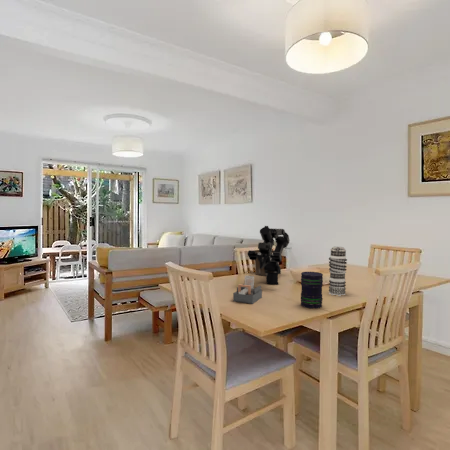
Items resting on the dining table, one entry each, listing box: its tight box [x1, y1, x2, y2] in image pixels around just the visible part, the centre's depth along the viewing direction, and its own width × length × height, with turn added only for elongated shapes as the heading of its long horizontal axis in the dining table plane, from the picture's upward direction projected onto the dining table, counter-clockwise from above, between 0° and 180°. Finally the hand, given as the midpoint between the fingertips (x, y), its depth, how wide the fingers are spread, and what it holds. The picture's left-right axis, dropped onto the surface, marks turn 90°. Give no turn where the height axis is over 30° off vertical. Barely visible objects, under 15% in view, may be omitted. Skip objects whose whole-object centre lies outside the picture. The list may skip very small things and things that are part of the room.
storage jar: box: [300, 271, 324, 309], centre depth 153 cm, size 10×10×15 cm
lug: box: [237, 283, 251, 294], centre depth 159 cm, size 1×6×4 cm, turn 64°
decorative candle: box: [328, 246, 348, 297], centre depth 174 cm, size 9×9×25 cm
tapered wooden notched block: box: [239, 275, 255, 295], centre depth 160 cm, size 10×4×7 cm, turn 154°
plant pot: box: [253, 249, 275, 277], centre depth 227 cm, size 16×16×16 cm
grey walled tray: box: [232, 283, 263, 305], centre depth 163 cm, size 13×10×6 cm
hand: (260, 268), depth 179 cm, fingers closed
